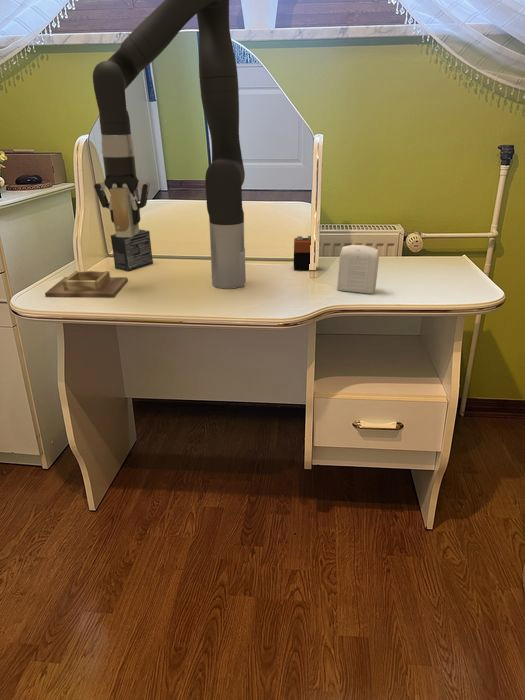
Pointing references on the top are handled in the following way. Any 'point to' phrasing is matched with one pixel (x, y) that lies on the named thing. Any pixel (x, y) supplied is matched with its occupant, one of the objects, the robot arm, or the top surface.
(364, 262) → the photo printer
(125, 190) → the skincare box
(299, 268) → the battery
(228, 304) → the top surface
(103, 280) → the cosmetics stand
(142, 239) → the small box
